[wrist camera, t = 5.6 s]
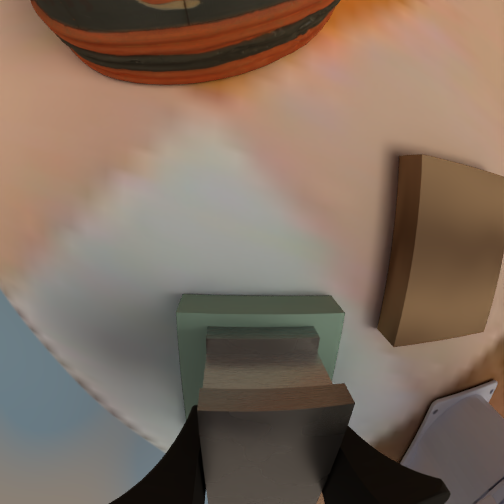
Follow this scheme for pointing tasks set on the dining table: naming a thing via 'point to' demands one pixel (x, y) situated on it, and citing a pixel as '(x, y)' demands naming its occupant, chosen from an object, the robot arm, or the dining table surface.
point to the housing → (268, 416)
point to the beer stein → (182, 35)
